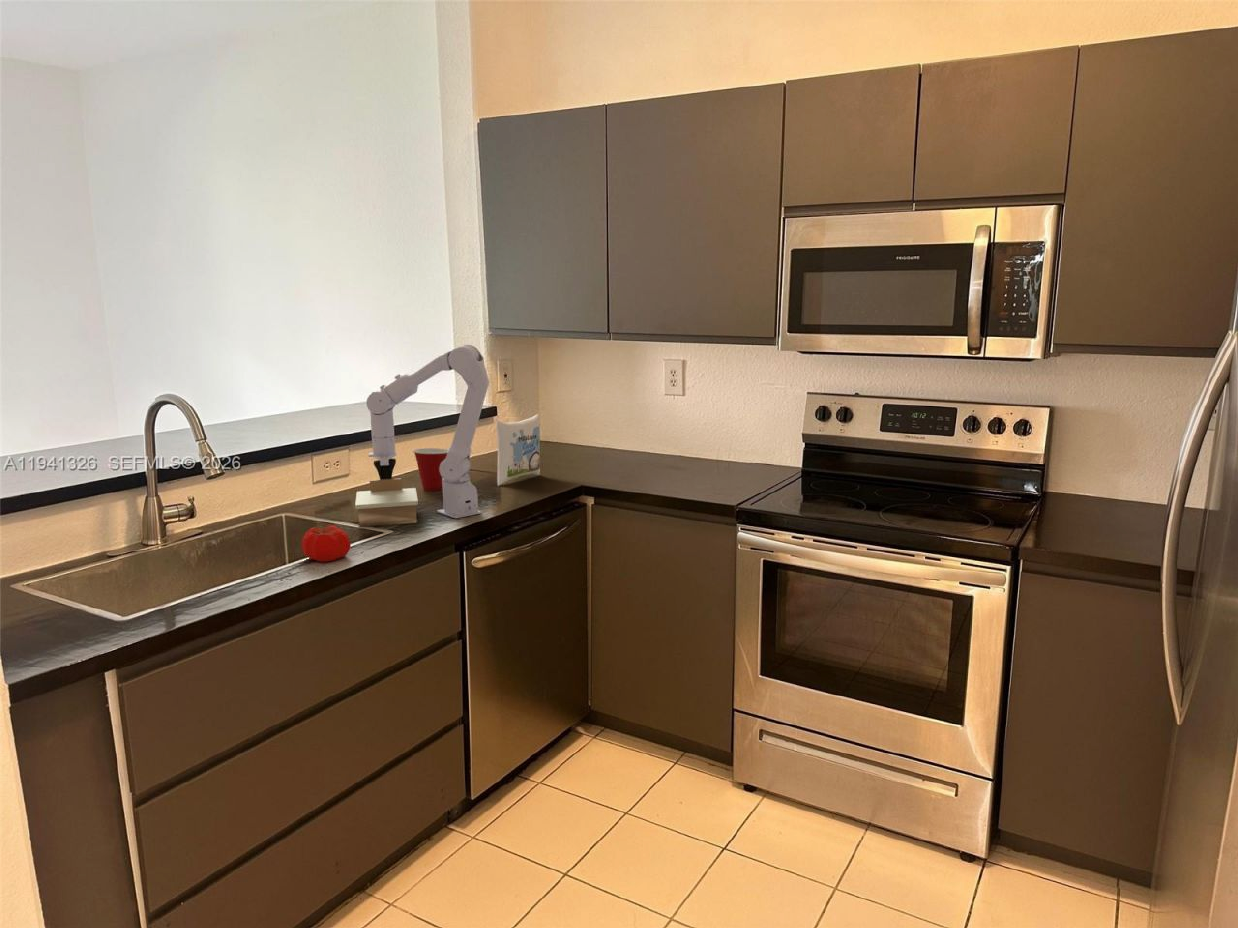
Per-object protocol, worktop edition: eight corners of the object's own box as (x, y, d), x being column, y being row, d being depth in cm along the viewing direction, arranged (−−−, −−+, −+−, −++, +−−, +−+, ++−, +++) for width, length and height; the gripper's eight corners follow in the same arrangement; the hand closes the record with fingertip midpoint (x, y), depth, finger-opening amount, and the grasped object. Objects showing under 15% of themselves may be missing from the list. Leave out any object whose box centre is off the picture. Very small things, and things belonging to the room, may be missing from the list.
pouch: (488, 484, 262) (485, 419, 258) (532, 473, 276) (531, 412, 272) (506, 488, 257) (504, 421, 253) (550, 477, 271) (549, 414, 267)
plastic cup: (459, 486, 258) (457, 447, 256) (434, 494, 249) (432, 453, 247) (432, 483, 264) (430, 444, 262) (407, 490, 255) (404, 450, 252)
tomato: (339, 548, 198) (337, 520, 196) (356, 559, 189) (354, 530, 188) (296, 556, 192) (294, 527, 191) (311, 568, 183) (309, 538, 182)
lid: (357, 495, 225) (355, 480, 225) (415, 491, 229) (414, 476, 228) (355, 509, 211) (354, 493, 210) (417, 504, 215) (417, 489, 214)
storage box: (360, 513, 228) (359, 494, 227) (414, 509, 232) (413, 491, 231) (359, 526, 215) (357, 507, 214) (416, 522, 219) (415, 503, 218)
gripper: (367, 432, 231) (371, 482, 234) (366, 441, 217) (370, 494, 220) (394, 431, 233) (397, 480, 236) (395, 440, 219) (398, 492, 222)
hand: (386, 487), depth 228 cm, fingers closed
